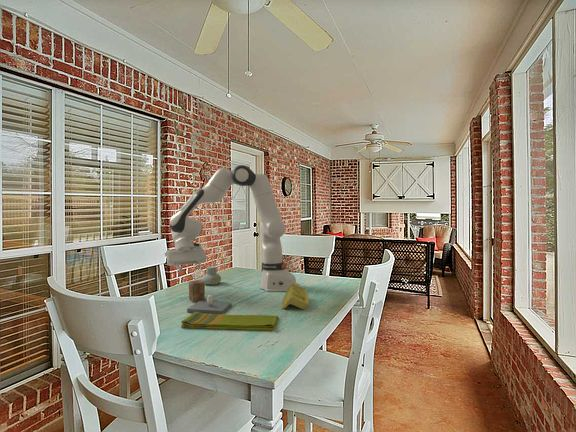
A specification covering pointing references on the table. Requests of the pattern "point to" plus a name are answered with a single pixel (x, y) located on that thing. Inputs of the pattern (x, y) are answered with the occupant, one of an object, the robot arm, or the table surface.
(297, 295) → the plastic component
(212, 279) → the grey green jug
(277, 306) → the table surface
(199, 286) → the housing
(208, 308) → the mounting plate
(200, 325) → the dish towel
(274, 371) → the table surface
